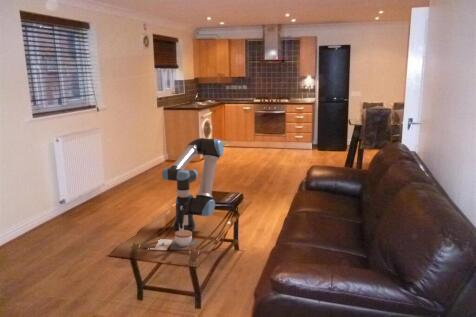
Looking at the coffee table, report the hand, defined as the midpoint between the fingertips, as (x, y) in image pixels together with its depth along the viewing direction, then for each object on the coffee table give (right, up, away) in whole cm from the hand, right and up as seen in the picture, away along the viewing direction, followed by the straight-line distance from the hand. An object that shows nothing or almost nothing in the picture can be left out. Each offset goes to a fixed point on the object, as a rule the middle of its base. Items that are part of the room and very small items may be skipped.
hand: (183, 228), depth 254 cm
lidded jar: (0, -10, +1) cm, 10 cm away
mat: (0, -11, +1) cm, 11 cm away
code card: (-16, -10, +2) cm, 19 cm away
